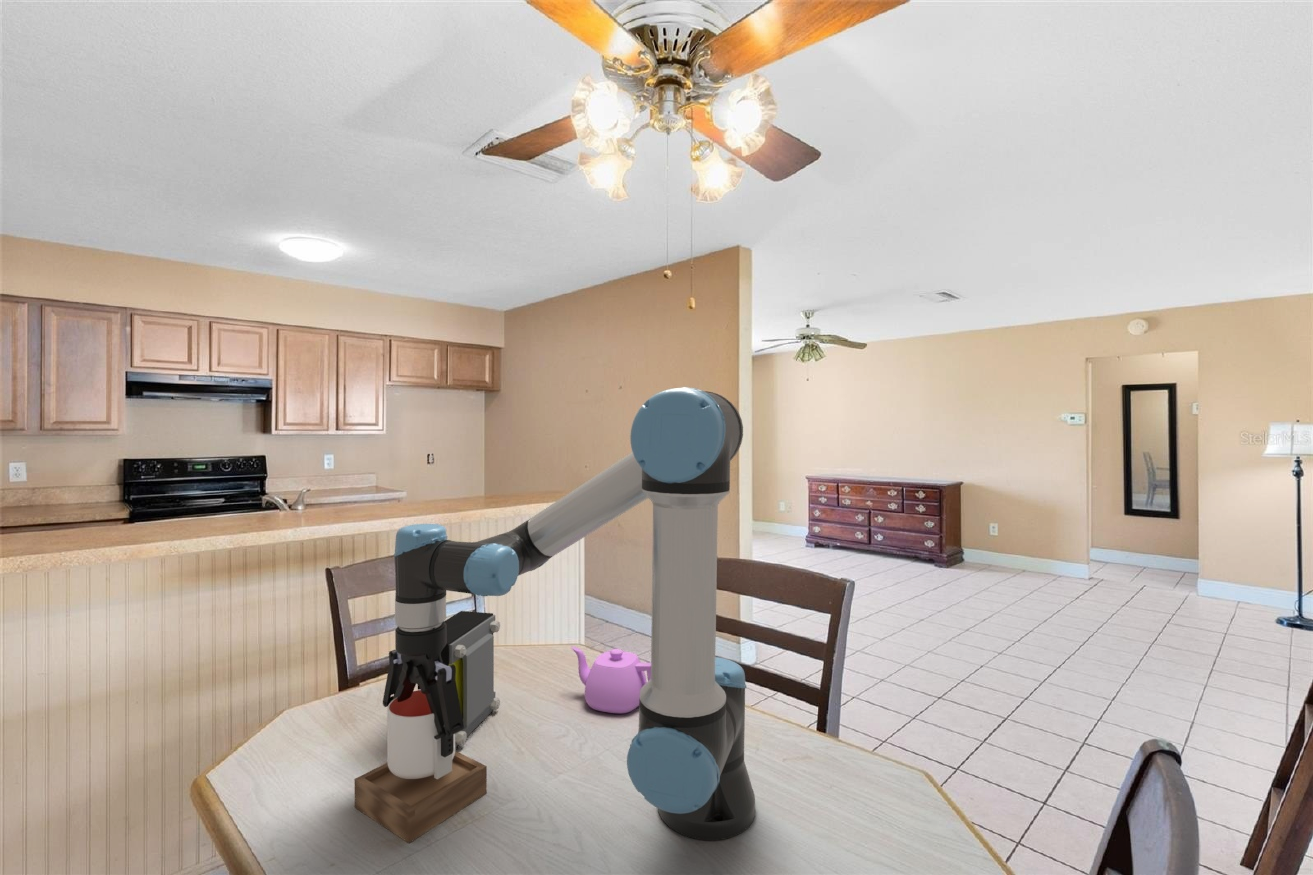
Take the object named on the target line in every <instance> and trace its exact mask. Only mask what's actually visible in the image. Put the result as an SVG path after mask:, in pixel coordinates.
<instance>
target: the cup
mask: <svg viewBox="0 0 1313 875" xmlns="http://www.w3.org/2000/svg"><path fill="white" fill-rule="evenodd" d="M386 709H387V710H386V724H387V725H386V727H387V728H386V729H387V731H386V733H387V734H386V735H387V736H386V738H387V740H386V743H387V744H386V745H387V747H386V749H387V752H386V753H387V754H386V756H387V761H386V763H388V768H389V770H390V771H391V772H392V773H393V774H394V775H396V776H398V777H400V778H405V779H419V778H424V777H428V776H431V775H434V735H436V734H438V732H437V729H436V726H435V723H434V714H433V713H432V714H431V710H430V707H429V704H428V701H427V698H426V695H425V694H423V693H422V692H421V689H420V690H418V689H416V690H415V689H414V690H413V693H412V695H411V697H410V698H408V699H407V700H404V701H402V702H398V697H397V698H395V699H394V700H392V701H391V702H390V703H389V705H388V706H387V708H386ZM453 747H454V750H453V753H452V760H453V758H454V755H455V751H456V748H455V734H454V735H453Z"/></svg>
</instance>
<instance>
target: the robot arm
mask: <svg viewBox="0 0 1313 875" xmlns="http://www.w3.org/2000/svg"><path fill="white" fill-rule="evenodd" d="M629 437H630V438H629V439H630V446H631V447H630V448H631V452H630V453H629V454H627V455H625V456H624V457H623V458H621V459H619V460H618V461H616V462H615V463H613V464H611V465H610V466H609V467H607V468H606V469H604V470H603V471H601V472H599V473H598V474H596V475H595V476H593V477H592V478H590V479H589V480H587V481H585V482H584V483H583V484H581V485H580V486H578V487H577V488H575V489H573V490H572V491H570V492H568V493H567V494H565V495H564V496H562V497H560V498H559V499H558V500H556V501H555V502H553V503H552V504H550V505H549V506H547V507H546V508H544V509H542V510H541V511H539V512H538V513H536V514H535V515H534V516H532V517H530V518H529V519H527V520H525V521H523V523H521V524H520V525H518V526H516V527H515V528H513V529H511V530H509V531H506V532H504V533H500V534H497V535H494V536H491V537H488V538H484V539H482V540H481V539H480V540H478V541H472V542H471V541H456V540H451V539H448V535H447V529H446V527H445V526H444V525H442V524H441V525H440V524H439V523H438V524H437V523H419V524H417V523H416V524H410V525H406V526H403V527H400V528H399V529H398V530H397V532H396V533H395V541H394V542H395V544H394V545H395V546H394V554H393V558H394V574H395V581H394V583H395V598H394V624H395V626H396V628H395V632H394V633H395V634H394V635H395V636H394V637H395V638H394V639H395V644H394V647H395V649H392V650H390V651H388V652H389V653H388V664H389V666H388V669H387V670H388V671H387V674H386V676H387V677H386V682H385V686H384V692H383V699H382V706H383V707H384V708H386V707H388V705H389V703H390V702H391V701H392V700H394V699H395V698H397V697H398V702H402V701H404V700H407V699H408V698H410V697H411V695H412V693H413V691H415V688H416V685H417V686H418V685H419V686H420V689H421V692H422V693H423V694H425V695H426V698H427V701H428V704H429V707H430V710H431V714H432V713H433V714H434V723H435V726H436V729H437V732H438V734H436V735H434V778H435V779H439V778H441V777H442V776H444V775H446V774H448V773H449V772H451V771H452V753H453V750H454V747H453V735H454V734H455V733H457V732H459V731H461V730H463V729H464V725H463V719H462V714H461V708H460V703H459V697H458V691H457V686H456V680H455V678H456V667H455V665H454V664H452V665H449V666H446V665H444V664H443V662H442V659H441V651H442V649H443V648H444V647H445V645H446V643H447V625H446V623H445V622H444V621H445V620H447V592H455V593H456V592H457V593H463V594H470V595H476V596H478V597H479V596H481V597H491V596H492V597H501V596H505V595H506V594H508V593H510V591H511V590H512V587H513V586H515V585H516V583H517V581H518V580H517V579H518V577H519V576H521V575H524V574H526V573H529V572H532V571H535V570H536V569H538V568H540V567H542V566H543V565H544V564H546V563H547V562H548V561H549V560H550V559H552V558H553V557H555V556H556V555H558V554H559V553H561V552H563V551H564V550H566V549H567V548H569V547H571V546H573V545H574V544H576V543H578V542H579V541H580V540H582V539H583V538H586V537H587V536H589V535H590V534H592V533H594V532H595V531H597V530H599V529H600V528H601V527H603V526H605V525H607V524H608V523H611V522H612V521H613V520H615V519H616V518H618V517H620V516H621V515H624V514H625V513H626V512H629V511H630V510H631V509H633V508H634V507H636V506H639V504H641V503H643V502H644V501H646V500H648V499H649V500H650V501H651V503H652V549H651V550H652V559H651V560H652V561H651V562H652V563H651V564H652V568H651V574H652V575H651V632H650V633H651V636H650V637H651V638H650V639H651V642H650V643H651V646H650V647H651V648H650V649H651V650H650V652H651V653H650V663H651V679H650V680H649V681H648V680H647V683H646V684H645V685H644V686H643V687H642V688H641V690H640V695H639V706H638V730H637V731H638V732H637V734H635V736H634V737H633V738H632V739H631V743H630V744H629V748H628V751H627V756H626V767H627V768H626V769H627V772H628V777H629V778H630V781H631V783H632V785H633V787H634V788H635V790H637V792H638V793H639V794H641V795H642V796H643V797H644V800H646V802H648V803H649V804H650V805H652V806H654V807H656V809H657V811H658V814H659V816H660V818H661V820H662V821H663V822H664V823H665V824H666V825H667V826H668V827H669V828H670V829H672V830H673V831H674V832H677V833H678V834H681V835H682V836H686V837H689V838H692V839H696V840H704V841H719V840H725V839H730V838H733V837H736V836H737V835H740V834H741V833H743V832H744V831H746V830H747V829H748V828H749V827H750V826H751V824H752V823H753V821H754V819H755V816H756V815H755V814H756V797H755V796H756V795H755V792H754V789H753V786H752V781H751V778H750V775H749V772H748V769H747V766H746V763H745V724H746V723H745V721H746V720H745V719H746V715H745V714H746V711H745V710H746V709H745V708H746V689H747V684H746V675H745V674H746V673H745V671H744V668H743V667H742V666H741V665H740V664H738V663H737V662H735V661H733V660H730V659H727V658H723V657H719V656H716V650H717V649H716V648H717V647H716V644H717V642H716V641H717V640H716V639H717V638H716V637H717V629H716V628H717V579H718V578H717V576H718V575H717V574H718V573H717V572H718V570H717V568H718V563H717V562H718V519H719V518H718V514H719V512H718V511H719V510H718V508H719V507H718V506H719V504H720V503H721V501H722V500H724V499H725V498H726V497H727V496H728V495H729V493H730V490H731V489H730V487H731V486H730V484H731V461H732V460H733V459H734V457H735V456H736V455H737V453H738V452H739V450H740V448H741V445H742V442H743V437H744V425H743V420H742V418H741V415H740V412H739V411H738V409H737V408H736V406H735V405H734V404H733V403H732V402H731V401H730V400H728V398H726V397H724V396H723V395H721V394H718V393H716V392H711V391H705V390H701V389H699V388H696V387H686V386H683V387H677V388H676V387H675V388H669V389H665V390H663V391H660V392H658V393H656V394H653V395H652V396H651V397H649V398H648V399H647V400H646V401H645V402H644V403H643V404H642V405H641V406H640V408H639V409H638V411H637V413H636V415H635V416H634V418H633V422H632V423H631V428H630V436H629ZM435 679H436V683H435V684H433V685H431V686H428V684H431V683H433V682H434V681H435Z"/></svg>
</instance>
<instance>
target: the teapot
mask: <svg viewBox="0 0 1313 875" xmlns="http://www.w3.org/2000/svg"><path fill="white" fill-rule="evenodd" d="M570 649H571V650H572V651H573V652H574V653H575V654H576V657H577V661H578V662H577V663H578V676H579V679H580V681H581V683H582V684H583V685H584V699H585V701H586V703H587V705H588V706H589V707H590V708H591V709H592V710H595V711H597V712H598V711H599V712H604V713H607V714H608V713H609V714H618V715H619V714H620V715H621V714H628V713H630V712H632V711H634V710H635V709H637V708H639V695H640V690H641V688H642V687H643V686H644V685H645V684H646V683H647V682H648V681H649V680H650V679H651V662H641V659H639V656H638V655H637V654H636V653H635V652H630V651H625V650H622V649H620V648H613V649H611V650H608V651H605V652H602V653H600V654H599V655H598V656H597V657H596V658H595V660H594V662H593V664H592V665H591V668H590V667H589V666H588V663H587V659H586V655H585V653H584V651H583V650H582V649H581V648H578V647H576V646H571V648H570ZM645 672H646V673H645Z"/></svg>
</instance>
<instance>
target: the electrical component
mask: <svg viewBox="0 0 1313 875" xmlns="http://www.w3.org/2000/svg"><path fill="white" fill-rule="evenodd" d="M444 622H445V623H446V625H447V643H446V645H445V647H444V648H443V649H442V651H441V659H442V662H443V664H444V665H446V666H449V665H452V664H454V665H455V667H456V678H455V680H456V686H457V691H458V697H459V703H460V708H461V714H462V719H463V725H464V729H463V730H461V731H459V732H457V733H455V749H457V748H458V747H459V746H463V745H465V743H466V741H467V738H468V737H469V736H470V734H471V733H473V731H474V730H475V729H476V728H478V726H479V725H480V724H481V723H482V722H483V721H484V720H485V719H486V718H487V717H488V716H489V715H490V714H491V713H492V712H493V711H498V710H499V708H500V706H501V699H500V698H499V697H496V691H495V690H494V688H495V687H494V685H495V681H494V678H495V676H494V675H495V674H494V667H495V666H494V665H495V663H494V660H495V659H494V658H495V657H494V655H495V654H494V653H495V652H494V648H495V647H494V645H495V644H494V643H495V642H494V640H495V639H494V637H495V636H494V633H498V632H499V631H500V629H501V622H500V621H498V620H496V615H495V614H494V612H493V613H492V612H479V611H478V612H477V611H467V610H460V611H458V612H457V613H456V614H453V615H452V616H451V617H449V618H446V619H445V620H444ZM435 683H436V679H435V681H434V682H433V683H431V684H428V686H431V685H433V684H435ZM417 690H420V686H419V685H418V684H417Z"/></svg>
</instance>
